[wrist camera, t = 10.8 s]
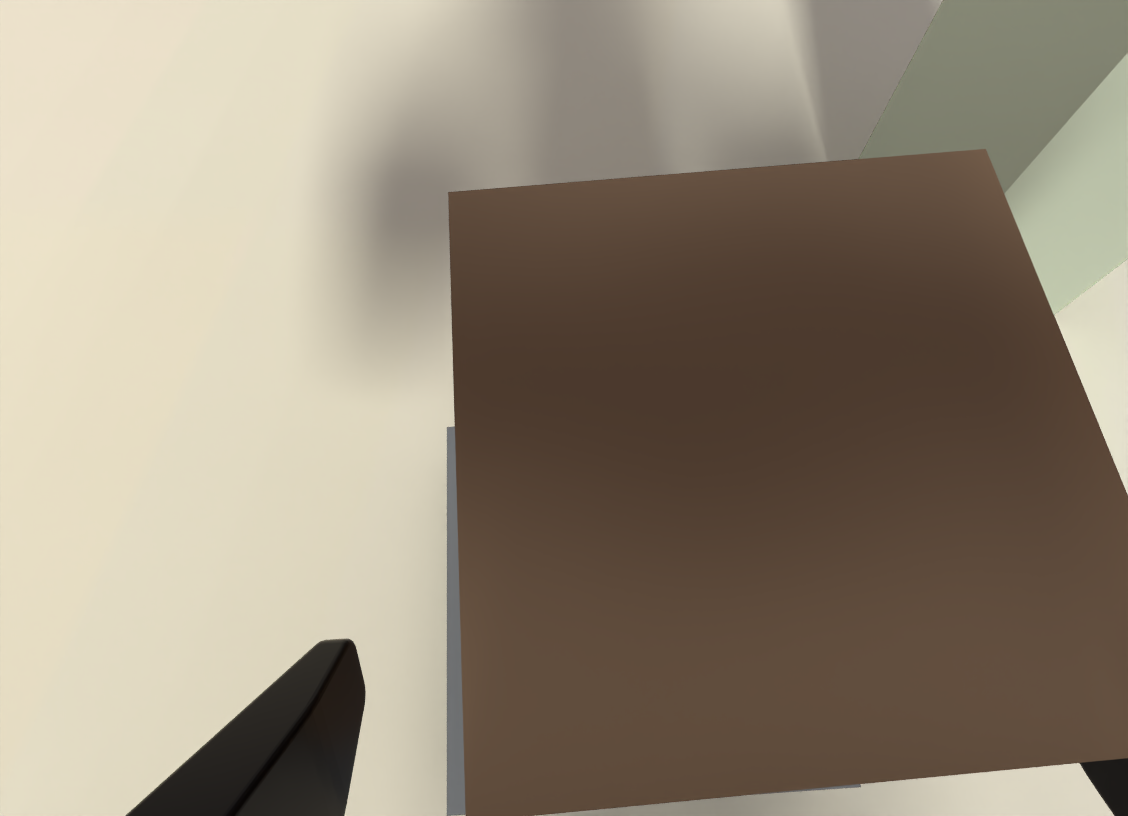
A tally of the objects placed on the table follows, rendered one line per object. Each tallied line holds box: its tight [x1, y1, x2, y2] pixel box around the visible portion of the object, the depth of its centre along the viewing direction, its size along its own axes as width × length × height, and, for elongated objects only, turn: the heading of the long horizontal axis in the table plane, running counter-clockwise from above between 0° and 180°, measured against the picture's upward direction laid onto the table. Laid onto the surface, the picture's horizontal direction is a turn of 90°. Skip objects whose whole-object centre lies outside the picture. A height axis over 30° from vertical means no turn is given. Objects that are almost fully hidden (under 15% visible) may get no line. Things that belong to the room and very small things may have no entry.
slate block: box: [447, 427, 861, 816], centre depth 19 cm, size 10×10×3 cm
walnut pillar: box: [448, 149, 1128, 816], centre depth 12 cm, size 6×6×12 cm
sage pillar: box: [859, 0, 1128, 315], centre depth 19 cm, size 6×6×12 cm
